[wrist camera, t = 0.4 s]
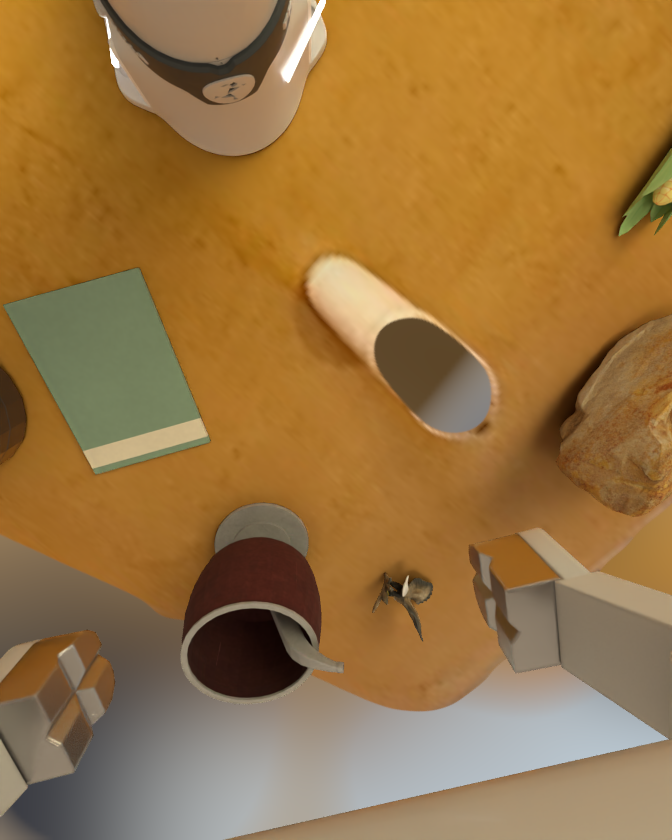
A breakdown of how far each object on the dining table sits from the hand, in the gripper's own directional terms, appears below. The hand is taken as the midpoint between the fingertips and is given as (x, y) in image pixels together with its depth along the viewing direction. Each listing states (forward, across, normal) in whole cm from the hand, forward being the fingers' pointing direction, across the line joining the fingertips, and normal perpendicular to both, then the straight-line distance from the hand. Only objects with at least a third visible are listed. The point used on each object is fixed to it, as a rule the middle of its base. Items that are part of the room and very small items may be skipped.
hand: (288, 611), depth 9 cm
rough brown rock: (+42, -38, +14) cm, 58 cm away
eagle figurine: (+43, -6, +34) cm, 56 cm away
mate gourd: (+41, +10, +22) cm, 48 cm away
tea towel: (+38, +21, -4) cm, 43 cm away
